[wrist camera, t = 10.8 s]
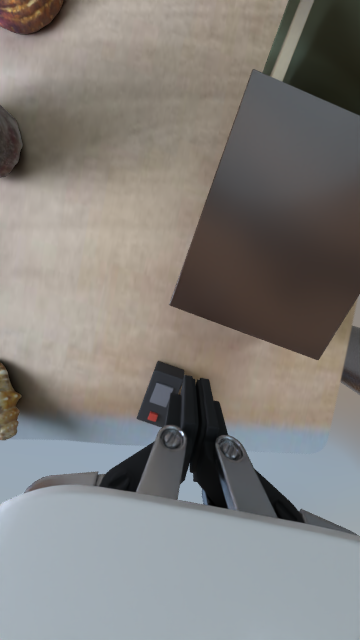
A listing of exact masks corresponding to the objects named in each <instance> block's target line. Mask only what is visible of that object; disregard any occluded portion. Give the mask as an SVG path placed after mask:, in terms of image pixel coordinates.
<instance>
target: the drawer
mask: <svg viewBox="0 0 360 640" xmlns="http://www.w3.org/2000/svg"><path fill="white" fill-rule="evenodd" d="M263 73H264V74H266V75H268V76H271V77H273V78H275V79H277V80H280V81H282V82H284V83H287V84H289V85H291V86H293V87H296V88H298V89H300V90H303V91H305V92H307V93H309V94H312V95H314V96H316V97H319V98H321V99H323V100H325V101H328V102H330V103H332V104H334V105H337V106H339V107H341V108H344V109H346V110H348V111H350V112H353V113H355V114H357V115H360V0H289V1H288V3H287V6H286V9H285V12H284V14H283V17H282V20H281V23H280V25H279V28H278V31H277V34H276V37H275V39H274V42H273V45H272V48H271V50H270V53H269V56H268V59H267V61H266V64H265V67H264V70H263Z"/></svg>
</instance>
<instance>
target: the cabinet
mask: <svg viewBox="0 0 360 640" xmlns="http://www.w3.org/2000/svg"><path fill="white" fill-rule="evenodd" d="M359 294H360V115H357V114H355V113H353V112H350V111H348V110H346V109H344V108H341V107H339V106H337V105H334V104H332V103H330V102H328V101H325V100H323V99H321V98H319V97H316V96H314V95H312V94H309V93H307V92H305V91H303V90H300V89H298V88H296V87H293V86H291V85H289V84H287V83H284V82H282V81H280V80H277V79H275V78H273V77H271V76H268V75H266V74H264V73H261V72H259V71H257V70H255V69H253V70H252V72H251V75H250V78H249V81H248V84H247V87H246V89H245V92H244V95H243V98H242V101H241V104H240V106H239V109H238V112H237V115H236V118H235V120H234V123H233V126H232V129H231V132H230V135H229V137H228V140H227V143H226V146H225V149H224V152H223V154H222V157H221V160H220V163H219V166H218V169H217V171H216V174H215V177H214V180H213V183H212V185H211V188H210V191H209V194H208V197H207V200H206V202H205V205H204V208H203V211H202V214H201V217H200V219H199V222H198V225H197V228H196V231H195V233H194V236H193V239H192V242H191V245H190V248H189V250H188V253H187V256H186V259H185V262H184V265H183V267H182V270H181V273H180V276H179V279H178V281H177V284H176V287H175V290H174V293H173V296H172V298H171V301H170V304H169V305H170V306H173V307H175V308H178V309H181V310H184V311H186V312H189V313H192V314H194V315H197V316H200V317H202V318H205V319H208V320H211V321H213V322H216V323H219V324H221V325H224V326H227V327H229V328H232V329H235V330H238V331H240V332H243V333H246V334H248V335H251V336H254V337H256V338H259V339H262V340H265V341H267V342H270V343H273V344H275V345H278V346H281V347H283V348H286V349H289V350H292V351H294V352H297V353H300V354H302V355H305V356H308V357H310V358H313V359H316V360H319V359H320V357H321V355H322V354H323V352H324V351H325V349H326V347H327V346H328V344H329V343H330V341H331V339H332V338H333V336H334V334H335V333H336V331H337V330H338V328H339V326H340V325H341V323H342V322H343V320H344V318H345V317H346V315H347V314H348V312H349V310H350V309H351V307H352V306H353V304H354V302H355V301H356V299H357V297H358V296H359Z"/></svg>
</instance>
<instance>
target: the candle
mask: <svg viewBox="0 0 360 640" xmlns="http://www.w3.org/2000/svg"><path fill="white" fill-rule="evenodd" d="M22 146H23V144H22V140H21V135H20V132H19V129H18V123H17V122H16V120H15V119H14V118H13V117H12V116H11V115H10V114H9V113H8V112H7V111H6V110H5V109H4V108H3V107H2V106H1V105H0V177H5V176H6V175H8V174H9V172H10V171H12V169H13V167H14V166H15V165H16V164H17V163H18V161H19V155H20V151H21V148H22Z"/></svg>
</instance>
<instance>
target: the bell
mask: <svg viewBox="0 0 360 640" xmlns="http://www.w3.org/2000/svg"><path fill="white" fill-rule="evenodd" d="M62 3H63V0H0V26H1V27H3V28H5V29H7V30H10V31H12V32H15V33H19V34H29V33H33V32H36V31H38V30H40V29H41V28H43V27H44V26H46V25H48V24H49V23H50V22H51V21H52V19H53V18H54V17H55V16H56V15H57V13H58V12H59V11H60V9H61V6H62Z"/></svg>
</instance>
